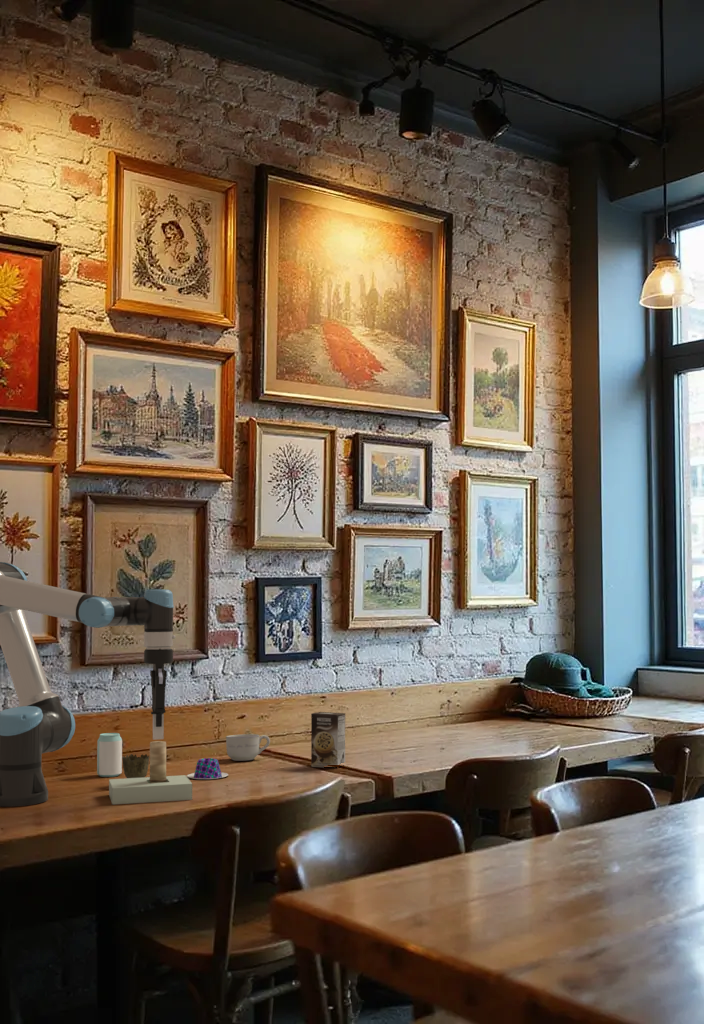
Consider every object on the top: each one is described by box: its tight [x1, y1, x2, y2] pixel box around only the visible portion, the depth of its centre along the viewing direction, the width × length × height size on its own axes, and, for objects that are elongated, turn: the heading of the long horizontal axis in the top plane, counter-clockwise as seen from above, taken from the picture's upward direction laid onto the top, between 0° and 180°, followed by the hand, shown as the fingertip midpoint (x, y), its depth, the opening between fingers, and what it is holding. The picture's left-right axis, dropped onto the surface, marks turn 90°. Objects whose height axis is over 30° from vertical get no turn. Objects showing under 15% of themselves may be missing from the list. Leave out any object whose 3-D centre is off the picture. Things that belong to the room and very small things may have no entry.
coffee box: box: [310, 711, 346, 768], centre depth 325 cm, size 9×6×16 cm
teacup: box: [225, 733, 271, 762], centre depth 339 cm, size 14×11×8 cm
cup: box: [122, 753, 150, 778], centre depth 295 cm, size 8×7×8 cm
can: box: [96, 732, 123, 778], centre depth 311 cm, size 7×7×12 cm
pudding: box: [186, 757, 229, 780], centre depth 307 cm, size 12×12×5 cm
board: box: [108, 774, 193, 805], centre depth 276 cm, size 20×14×4 cm
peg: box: [149, 740, 167, 783], centre depth 277 cm, size 4×4×14 cm
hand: (158, 738), depth 277 cm, fingers closed
